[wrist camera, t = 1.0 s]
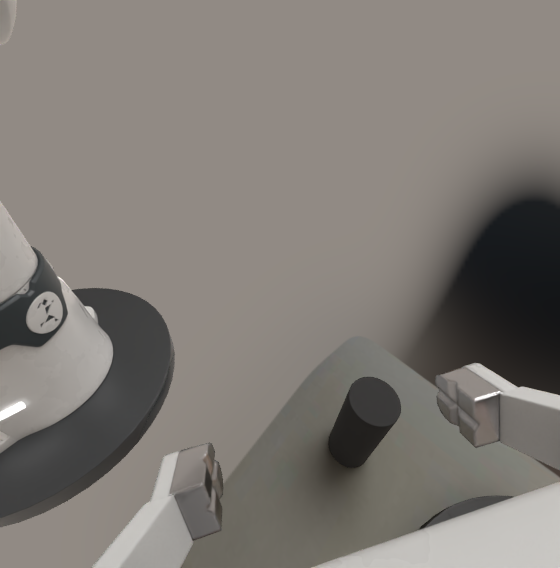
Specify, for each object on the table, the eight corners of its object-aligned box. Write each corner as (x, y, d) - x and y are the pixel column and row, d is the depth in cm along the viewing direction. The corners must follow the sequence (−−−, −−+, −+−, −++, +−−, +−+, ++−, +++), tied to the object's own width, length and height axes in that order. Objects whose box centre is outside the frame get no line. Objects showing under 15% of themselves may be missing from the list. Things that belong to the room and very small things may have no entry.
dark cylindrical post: (329, 465, 28) (351, 423, 21) (327, 422, 31) (346, 374, 24) (371, 470, 28) (406, 429, 21) (365, 426, 31) (395, 379, 24)
